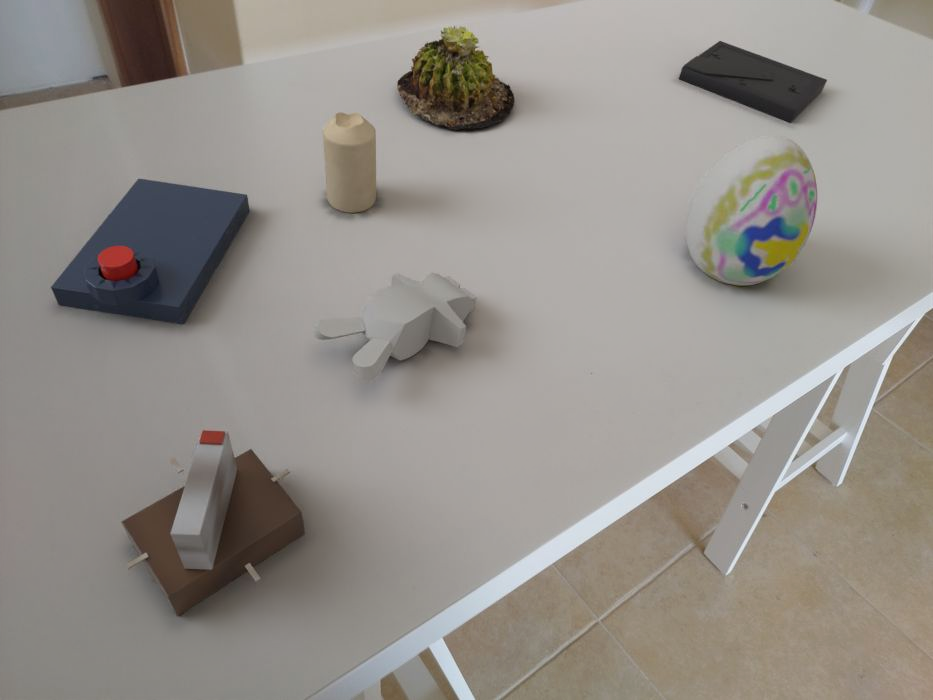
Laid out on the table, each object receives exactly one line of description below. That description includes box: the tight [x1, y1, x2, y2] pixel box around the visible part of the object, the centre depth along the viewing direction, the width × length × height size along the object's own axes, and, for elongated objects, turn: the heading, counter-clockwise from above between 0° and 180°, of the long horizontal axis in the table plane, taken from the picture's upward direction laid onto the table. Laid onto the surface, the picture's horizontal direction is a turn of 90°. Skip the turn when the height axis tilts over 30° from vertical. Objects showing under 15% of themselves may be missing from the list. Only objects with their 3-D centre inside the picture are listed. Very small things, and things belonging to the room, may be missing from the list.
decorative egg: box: [684, 134, 818, 287], centre depth 76 cm, size 12×12×15 cm
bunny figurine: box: [312, 272, 477, 381], centre depth 67 cm, size 10×5×15 cm
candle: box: [322, 112, 377, 214], centre depth 80 cm, size 6×6×10 cm
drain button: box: [98, 246, 138, 281], centre depth 66 cm, size 3×3×2 cm
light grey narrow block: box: [170, 429, 237, 570], centre depth 50 cm, size 8×2×5 cm, turn 0°
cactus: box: [396, 25, 515, 131], centre depth 98 cm, size 17×16×10 cm
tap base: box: [121, 448, 306, 617], centre depth 52 cm, size 12×12×3 cm
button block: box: [50, 178, 251, 325], centre depth 73 cm, size 19×12×4 cm, turn 172°
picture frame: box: [678, 40, 828, 124], centre depth 111 cm, size 13×2×18 cm
